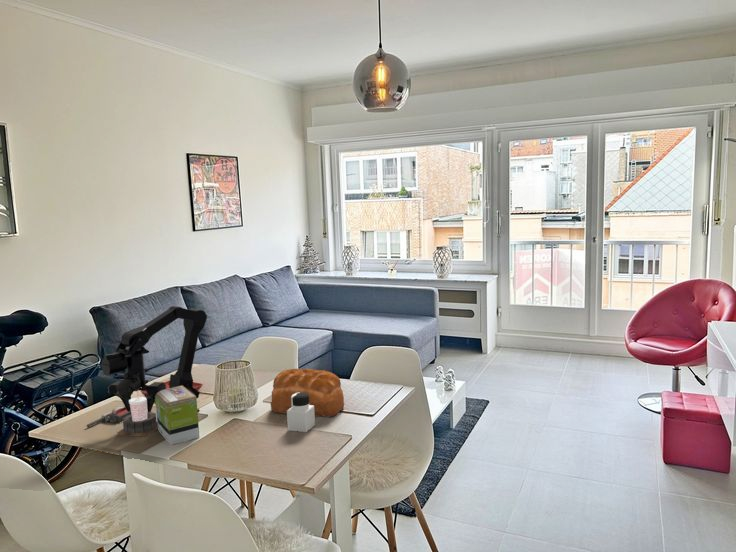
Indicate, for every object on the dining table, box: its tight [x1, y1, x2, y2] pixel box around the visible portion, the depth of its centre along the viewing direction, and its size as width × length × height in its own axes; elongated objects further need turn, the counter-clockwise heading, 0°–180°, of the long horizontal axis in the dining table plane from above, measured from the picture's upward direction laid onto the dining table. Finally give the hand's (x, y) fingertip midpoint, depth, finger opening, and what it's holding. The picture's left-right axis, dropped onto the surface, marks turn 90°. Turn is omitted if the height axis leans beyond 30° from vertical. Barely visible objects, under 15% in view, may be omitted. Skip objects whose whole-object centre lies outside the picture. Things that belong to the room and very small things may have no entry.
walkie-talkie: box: [86, 405, 131, 428], centre depth 208 cm, size 9×4×20 cm
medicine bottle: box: [286, 392, 316, 433], centre depth 193 cm, size 7×7×12 cm
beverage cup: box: [129, 391, 148, 422], centre depth 196 cm, size 6×6×14 cm
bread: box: [270, 368, 345, 417], centre depth 211 cm, size 14×26×16 cm, turn 72°
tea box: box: [154, 386, 200, 446], centre depth 191 cm, size 15×10×15 cm
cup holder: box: [116, 411, 158, 437], centre depth 197 cm, size 11×11×4 cm
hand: (139, 411), depth 196 cm, fingers closed on beverage cup, 7 cm apart
